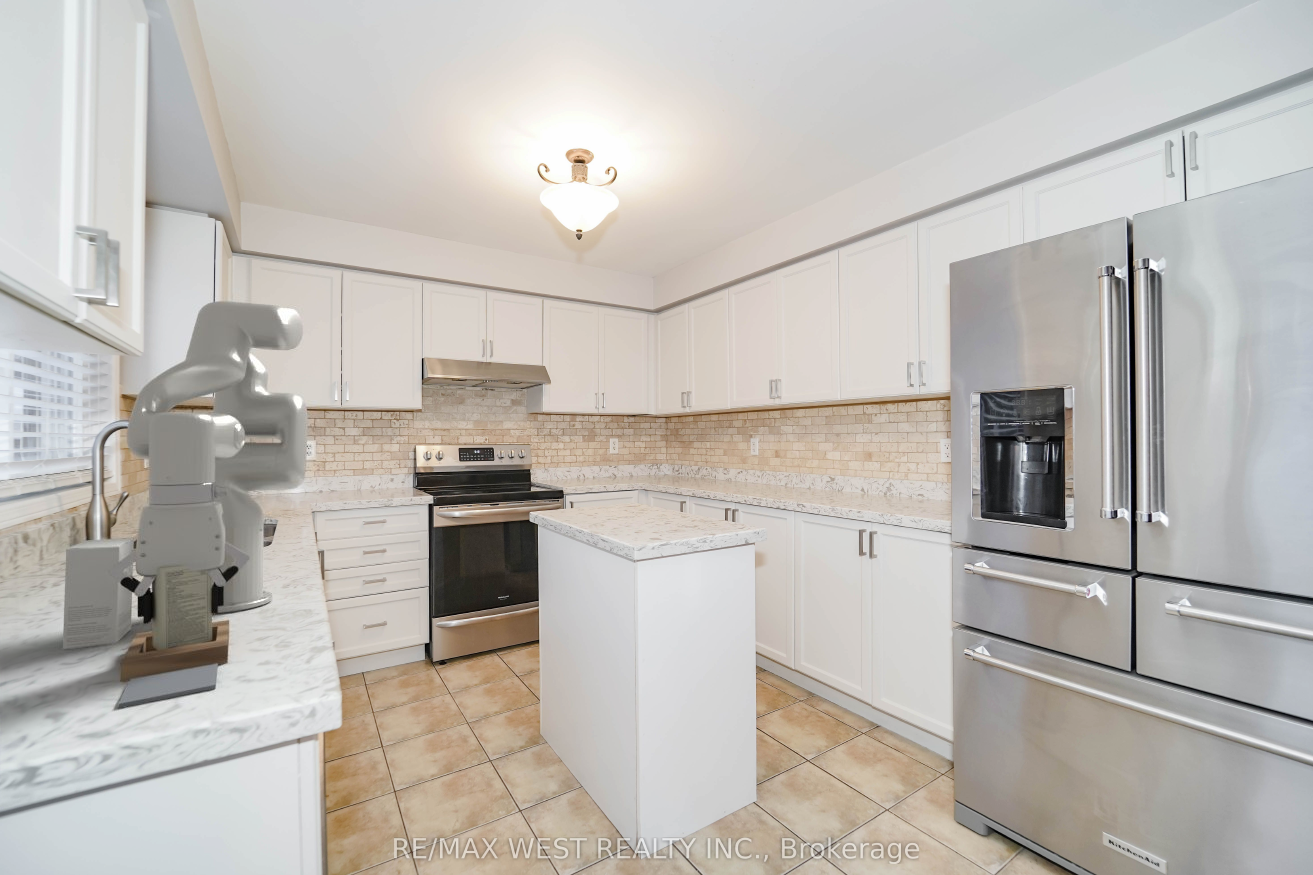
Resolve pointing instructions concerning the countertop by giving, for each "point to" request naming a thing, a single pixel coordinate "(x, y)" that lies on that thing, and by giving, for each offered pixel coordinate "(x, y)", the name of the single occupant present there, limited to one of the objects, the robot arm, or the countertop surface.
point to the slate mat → (169, 685)
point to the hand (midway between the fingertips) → (182, 615)
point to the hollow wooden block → (173, 654)
